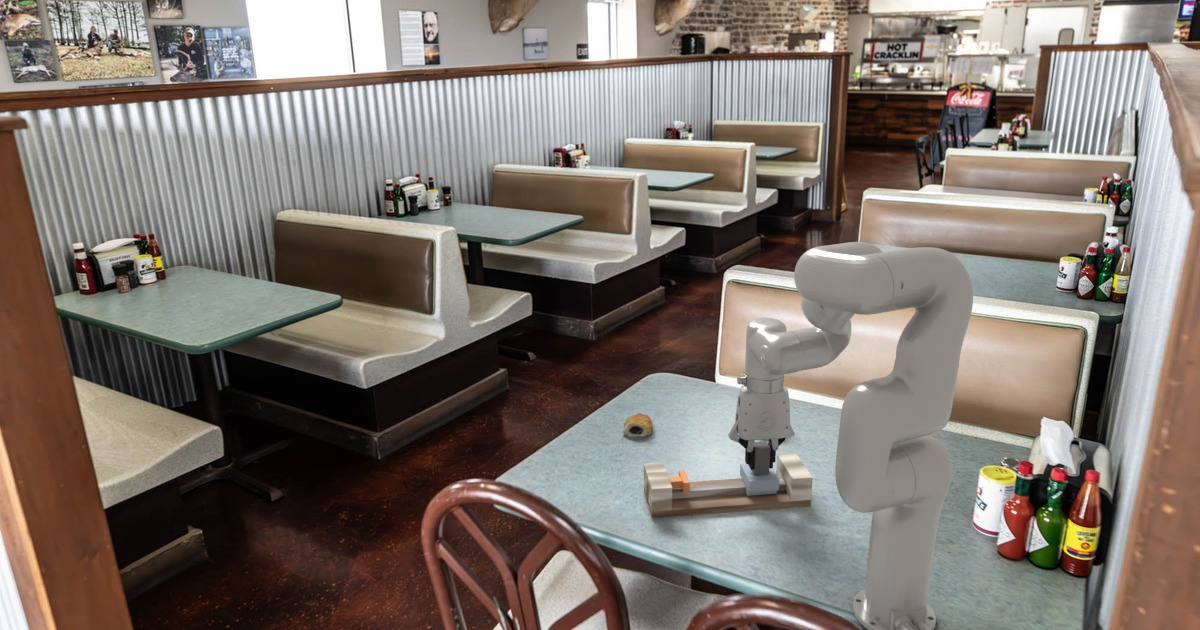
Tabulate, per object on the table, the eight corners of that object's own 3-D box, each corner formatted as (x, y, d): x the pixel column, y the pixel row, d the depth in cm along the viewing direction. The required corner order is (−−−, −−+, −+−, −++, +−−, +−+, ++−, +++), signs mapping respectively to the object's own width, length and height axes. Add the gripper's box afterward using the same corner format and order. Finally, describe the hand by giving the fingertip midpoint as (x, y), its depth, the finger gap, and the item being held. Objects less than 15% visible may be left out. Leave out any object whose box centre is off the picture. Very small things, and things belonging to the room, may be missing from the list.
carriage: (778, 496, 163) (781, 452, 160) (749, 498, 163) (751, 454, 160) (768, 478, 170) (770, 436, 167) (739, 480, 169) (741, 437, 166)
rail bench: (810, 506, 163) (812, 477, 161) (651, 518, 160) (651, 489, 158) (794, 480, 172) (795, 453, 170) (643, 491, 169) (643, 463, 167)
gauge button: (689, 493, 162) (689, 482, 161) (658, 495, 161) (658, 484, 161) (684, 480, 167) (684, 470, 166) (654, 482, 166) (654, 472, 165)
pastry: (628, 420, 202) (628, 406, 201) (656, 422, 200) (656, 408, 199) (622, 437, 193) (622, 422, 192) (650, 439, 192) (650, 425, 191)
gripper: (727, 392, 154) (724, 478, 160) (811, 387, 156) (805, 472, 162) (717, 376, 161) (715, 459, 167) (798, 371, 163) (793, 454, 169)
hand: (759, 465), depth 165 cm, fingers closed on carriage, 3 cm apart
